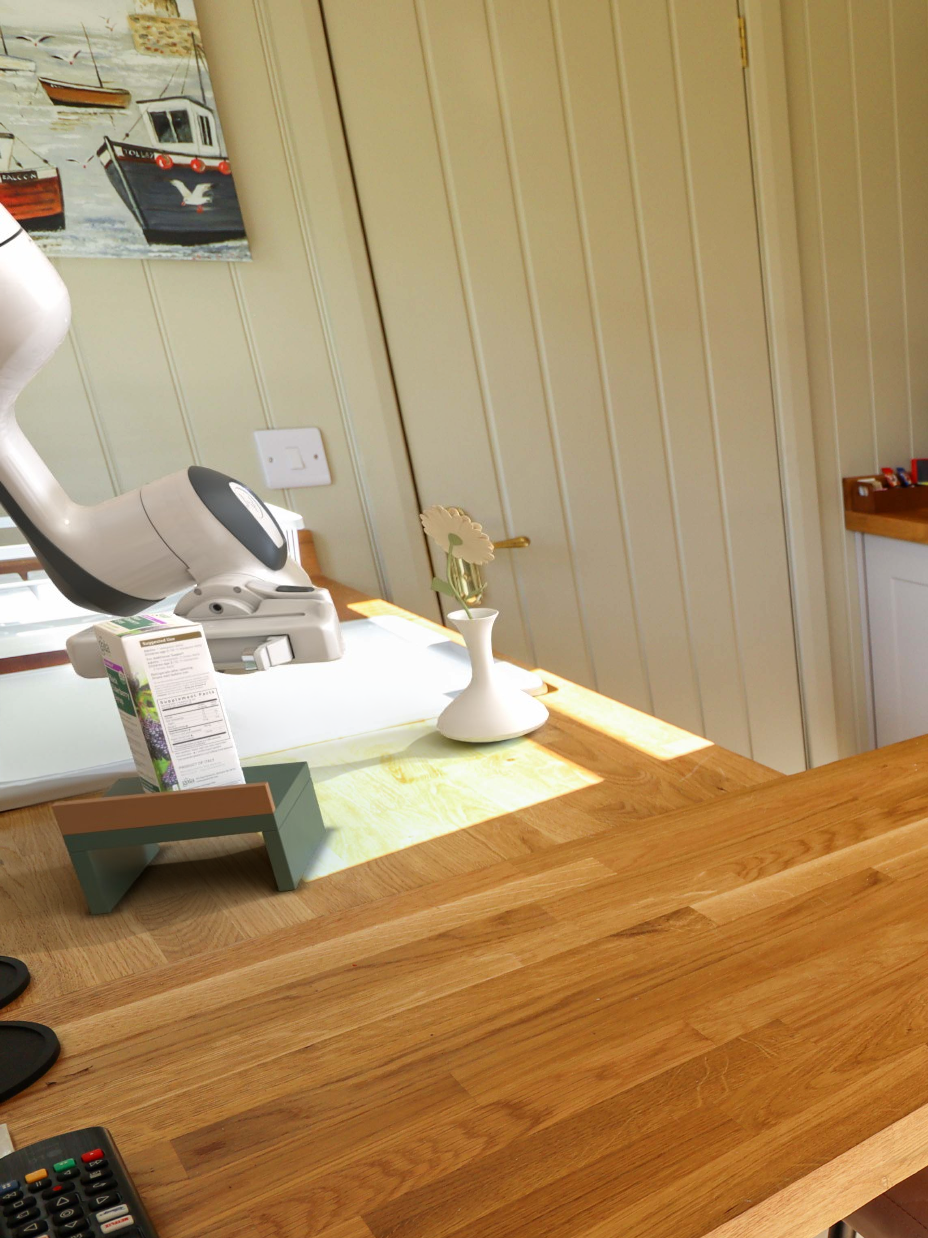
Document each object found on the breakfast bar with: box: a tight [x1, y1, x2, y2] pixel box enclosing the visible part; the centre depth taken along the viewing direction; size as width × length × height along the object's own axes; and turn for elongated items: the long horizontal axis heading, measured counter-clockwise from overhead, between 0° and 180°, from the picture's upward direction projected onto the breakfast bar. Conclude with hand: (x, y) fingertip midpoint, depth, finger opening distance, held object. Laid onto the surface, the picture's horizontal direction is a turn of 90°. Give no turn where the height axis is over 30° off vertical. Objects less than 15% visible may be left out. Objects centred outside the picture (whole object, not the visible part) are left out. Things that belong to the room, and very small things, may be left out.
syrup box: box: [92, 612, 246, 793], centre depth 94 cm, size 6×6×14 cm
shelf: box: [50, 760, 326, 916], centre depth 97 cm, size 14×12×10 cm
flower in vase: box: [419, 504, 549, 743], centre depth 126 cm, size 13×11×25 cm
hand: (188, 667), depth 98 cm, fingers open, 8 cm apart
